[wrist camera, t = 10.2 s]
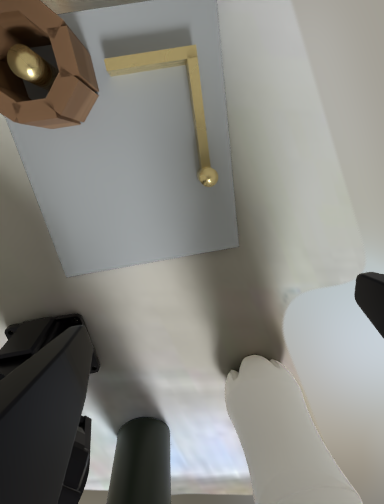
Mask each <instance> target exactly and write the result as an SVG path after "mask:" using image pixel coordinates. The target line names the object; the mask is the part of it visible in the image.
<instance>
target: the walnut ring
mask: <svg viewBox="0 0 384 504" xmlns="http://www.w3.org/2000/svg"><path fill="white" fill-rule="evenodd" d="M16 44H21V45H25V46H27V47H28V48H32V47H39V46H46V45H52V48H53V52H54V55H55V59H56V62H57V66H58V69H59V73H58V75H57V77H56V79H55V81H54V83H53V85H52V87H51V89H50V91H49V93H48V95H47V97H46V98H44V99H37V100H32V99H30V98H29V97H28V94H27V91H26V88H25V85H24V82H23V79H22V78H20V77H18V76H17V75H15V74H14V73H13V72H12V70H11V69H10V67H9V65H8V62H7V53H8V51H9V49H10V48H11V47H12V46H13V45H16ZM95 92H99V88H98V84H97V80H96V76H95V72H94V67H93V63H92V59H91V55H90V54H89V53H88V50H87V49H86V48H85V47H84V45H83V44H82V43H81V42H80V40H79V39H78V38H77V37H76V35H75V34H74V33H73V32H72V30H71V29H70V28H69V27H68V25H67V24H66V23H65V22H64V20H63V19H62V18H60V17H59V16H58V15H57V14H56V13H54V12H53V11H52V10H51V9H50V8H48V7H47V6H46V5H45V4H44V3H42V2H41V1H40V0H0V113H1V114H3V115H4V116H6V117H7V118H8V119H10V120H11V121H13V122H16V123H19V124H25V125H30V126H36V127H42V128H48V129H56V128H63V127H69V126H76V125H81V123H80V121H81V122H85V120H86V118H87V116H88V115H89V113H90V111H91V109H92V107H93V105H94V104H95V102H96V100H97V98H98V96H99V95H97V94H96V93H95Z"/></svg>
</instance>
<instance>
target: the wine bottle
mask: <svg viewBox="0 0 384 504" xmlns="http://www.w3.org/2000/svg"><path fill="white" fill-rule="evenodd" d="M107 504H171V477H170V431H169V428H168V427H167V425H166V424H165V423H163V422H162V421H160V420H158V419H155V418H148V417H144V418H137V419H134V420H131V421H129V422H127V423H126V424H125V425H123V426H122V428H121V429H120V431H119V433H118V438H117V444H116V450H115V456H114V462H113V468H112V474H111V480H110V486H109V492H108V498H107Z"/></svg>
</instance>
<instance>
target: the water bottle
mask: <svg viewBox="0 0 384 504" xmlns="http://www.w3.org/2000/svg"><path fill="white" fill-rule="evenodd" d="M225 402H226V408H227V412H228V415H229V417H230V419H231V421H232V423H233V425H234V427H235V430H236V432H237V434H238V437H239V439H240V442H241V445H242V448H243V450H244V454H245V457H246V461H247V464H248V468H249V472H250V476H251V481H252V488H253V495H254V504H363V503H362V500H361V498H360V495H359V494H358V493H357V491H356V490H355V489H354V487H353V486H352V485H351V483H350V482H349V481H348V479H347V478H346V476H345V475H344V473H343V472H342V471H341V469H340V468H339V466H338V465H337V463H336V462H335V460H334V458H333V457H332V455H331V454H330V452H329V451H328V449H327V447H326V445H325V444H324V442H323V440H322V438H321V437H320V435H319V433H318V431H317V429H316V427H315V425H314V423H313V421H312V419H311V416H310V414H309V412H308V409H307V407H306V404H305V401H304V398H303V394H302V391H301V388H300V386H299V385H298V383H297V381H296V379H295V378H294V376H293V375H292V374H291V373H290V371H289V370H288V369H287V368H286V367H285V366H284V365H283V364H281V363H280V362H278V361H276V360H274V359H271V360H270V361H268V360H267V359H266V358H264V357H262V356H260V355H259V356H258V355H251V356H247V357H245V358H244V359H243V361H242V363H241V366H240V369H239V373H238V372H237V371H234V370H231V371H230V372H229V373H228V376H227V379H226V384H225Z"/></svg>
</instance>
